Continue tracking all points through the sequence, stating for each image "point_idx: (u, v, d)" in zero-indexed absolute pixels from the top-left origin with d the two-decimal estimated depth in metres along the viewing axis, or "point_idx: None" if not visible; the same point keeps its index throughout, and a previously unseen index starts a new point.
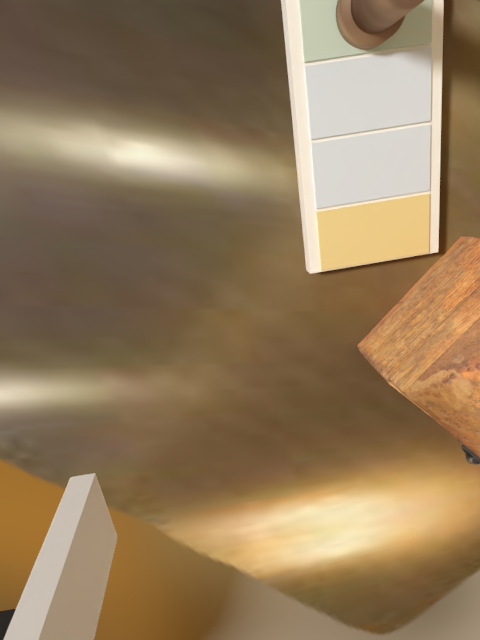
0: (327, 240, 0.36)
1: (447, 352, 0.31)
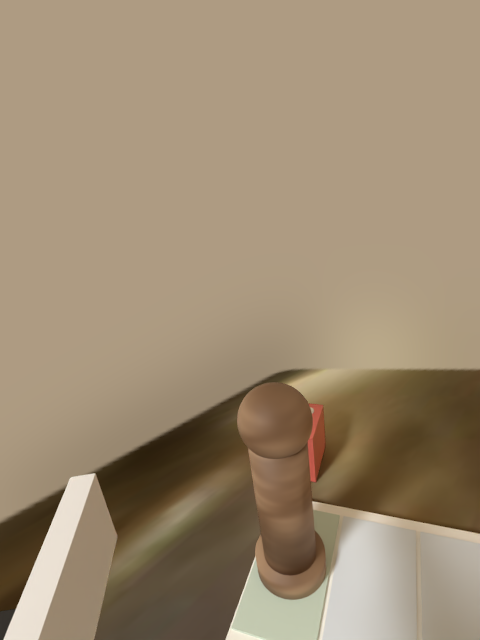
0: None
1: None
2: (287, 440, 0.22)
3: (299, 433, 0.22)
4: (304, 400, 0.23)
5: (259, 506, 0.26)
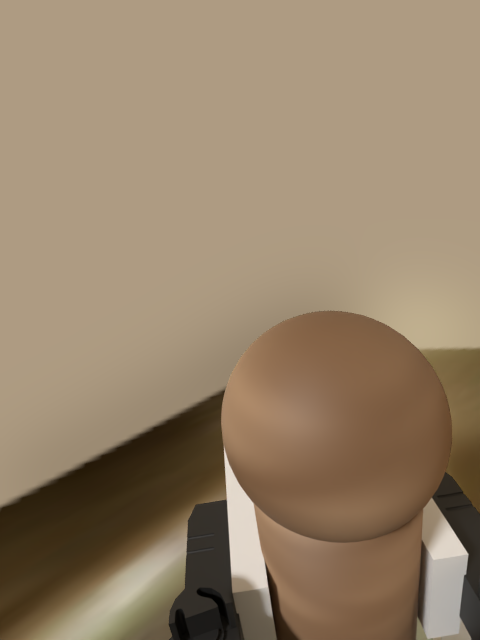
0: None
1: None
2: (393, 487, 0.06)
3: (429, 463, 0.07)
4: (424, 358, 0.08)
5: None
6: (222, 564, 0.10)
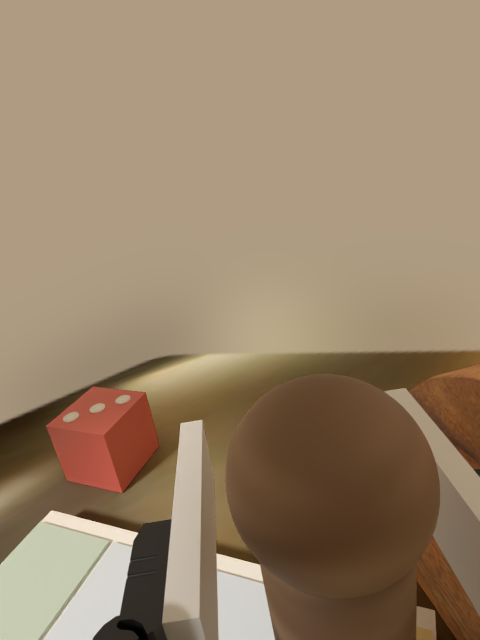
0: None
1: None
2: (384, 555, 0.07)
3: (417, 529, 0.07)
4: (414, 421, 0.08)
5: None
6: (160, 589, 0.10)
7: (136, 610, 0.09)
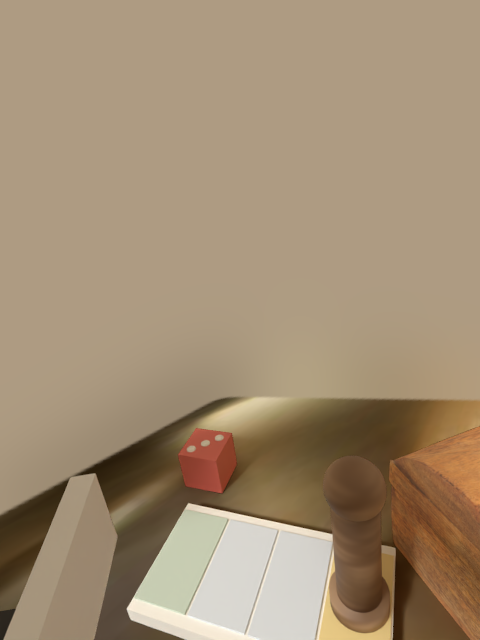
0: None
1: None
2: (371, 508, 0.28)
3: (379, 501, 0.28)
4: (379, 472, 0.29)
5: (339, 556, 0.31)
6: None
7: None
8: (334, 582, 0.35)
